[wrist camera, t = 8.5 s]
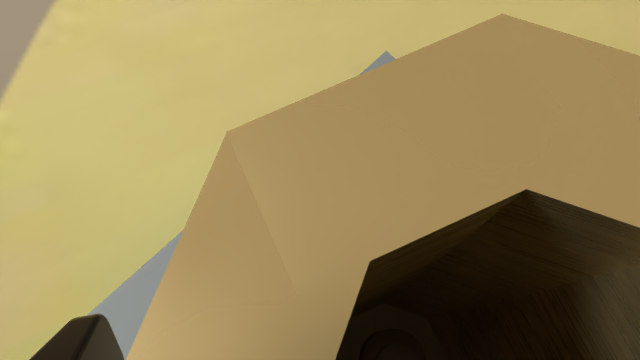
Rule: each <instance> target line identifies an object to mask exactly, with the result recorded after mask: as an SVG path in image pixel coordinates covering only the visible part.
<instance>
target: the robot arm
mask: <svg viewBox="0 0 640 360" xmlns="http://www.w3.org/2000/svg"><path fill="white" fill-rule="evenodd" d="M29 360H124V356H123V353H122V351H121V349H120V346H119V344H118V342H117V340H116V337H115V335H114V333H113V330H112V328H111V326H110V324H109V321H108V320H107V318H106V317H105V316H104V315H102V314H99V313H97V314H92V315H87V316H82V317H77V318H74V319H72V320H70V321H69V322H68V323H67V324H66V325H65V326H64V327H63V328H62V329H61V330H60V331H59V332H58V333H57V334H56V335H55V336H53V337H52V338H51V339H50V340H49V341H48V342H47V343H46V344H45V345H44V346H43V347H42V348H41V349H40V350H39V351H38V352H37V353H36V354H35V355H34V356H33V357H32V358H31V359H29Z"/></svg>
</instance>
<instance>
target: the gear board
mask: <svg viewBox="0 0 640 360" xmlns="http://www.w3.org/2000/svg"><path fill="white" fill-rule="evenodd" d="M394 60H396V59H395V58H394V57H393V56H391V55H390V54H389V53H388V52H387V51H386V52H385V53H384V54H382V55H381V56H380V57H379V58H378V59H377V60H376V61H374V62H373V63H372V64H371V65H370V66H369V67H368V68H367V69H365V70H364V71H363V72H362V73H361V74H363V73H366V72H368V71H370V70H373V69H375V68H377V67H380V66H382V65H384V64H387V63H389V62H391V61H394ZM361 74H360V75H361ZM182 232H183V231H182ZM182 232H181V233H180V234H178V235H177V236H176V237H175V238H174V239H173V240H172V241H171V242H169V243H168V244H167V245H166V246H165V247H164V248H163V249H161V250H160V251H159V252H158V253H157V254H156V255H155V256H154V257H152V258H151V259H150V260H149V261H148V262H147V263H146V264H144V265H143V266H142V267H141V268H140V269H139V270H138V271H137V272H135V273H134V274H133V275H132V276H131V277H130V278H129V279H127V280H126V281H125V282H124V283H123V284H122V285H121V286H120V287H118V288H117V289H116V290H115V291H114V292H113V293H112V294H110V295H109V296H108V297H107V298H106V299H105V300H104V301H103V302H101V303H100V304H99V305H98V306H97V307H96V308H95V309H93V310H92V311H91V312H90V313H89V314H88V315H92V314H97V313H99V314H102V315H104V316H105V317H106V318H107V320H108V321H109V324H110V326H111V328H112V330H113V333H114V335H115V337H116V340H117V342H118V344H119V346H120V349H121V351H122V353H123V356H124V360H126V358H127V356H128V354H129V351H130V349H131V347H132V345H133V342H134V340H135V338H136V336H137V333H138V331H139V329H140V327H141V324H142V322H143V320H144V318H145V315H146V313H147V311H148V309H149V307H150V304H151V302H152V300H153V298H154V295H155V293H156V291H157V289H158V286H159V284H160V282H161V280H162V277H163V275H164V273H165V271H166V268H167V266H168V264H169V262H170V259H171V257H172V255H173V253H174V250H175V248H176V246H177V244H178V241H179V239H180V237H181V235H182ZM335 360H447V358H446V356H445V354H444V352H443V350H442V348H441V346H440V344H439V342H438V340H437V338H436V336H435V334H434V332H433V330H432V328H431V326H430V324H429V322H428V320H427V319H425V318H422V317H419V316H417V315H414V314H411V313H409V312H406V311H403V310H401V309H398V308H396V307H393V306H390V305H388V304H385V303H384V304H382V305H379V306H377V307H375V308H373V309H371V310H369V311H367V312H365V313H362V314H360V315H358V316H356V317H354V318H352V319H350V320H349V322H348V324H347V327H346V330H345V333H344V336H343V339H342V342H341V344H340V347H339V350H338V353H337V356H336V359H335Z"/></svg>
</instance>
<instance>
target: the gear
mask: <svg viewBox="0 0 640 360" xmlns="http://www.w3.org/2000/svg"><path fill="white" fill-rule="evenodd" d="M384 303H385V304H388V305H390V306H393V307H396V308H398V309H401V310H403V311H406V312H409V313H411V314H414V315H417V316H419V317H422V318H425V319H427V320H428V322H429V324H430V326H431V328H432V330H433V332H434V334H435V336H436V338H437V340H438V342H439V344H440V346H441V348H442V350H443V352H444V354H445V356H446V358H447V360H640V56H638V55H635V54H632V53H628V52H625V51H622V50H619V49H615V48H612V47H609V46H606V45H602V44H599V43H596V42H592V41H589V40H586V39H583V38H579V37H576V36H573V35H570V34H566V33H563V32H560V31H556V30H553V29H550V28H547V27H543V26H540V25H537V24H534V23H530V22H527V21H524V20H520V19H517V18H514V17H511V16H507V15H504V14H501V15H499V16H497V17H494V18H492V19H490V20H487V21H485V22H482V23H480V24H478V25H475V26H473V27H471V28H468V29H466V30H464V31H461V32H459V33H457V34H454V35H452V36H450V37H447V38H445V39H443V40H440V41H438V42H436V43H433V44H431V45H429V46H426V47H424V48H422V49H419V50H417V51H415V52H412V53H410V54H408V55H405V56H403V57H401V58H398V59H396V60H394V61H391V62H389V63H387V64H384V65H382V66H380V67H377V68H375V69H373V70H370V71H368V72H366V73H363V74H361V75H358V76H356V77H354V78H351V79H349V80H347V81H344V82H342V83H340V84H337V85H335V86H333V87H330V88H328V89H326V90H323V91H321V92H319V93H316V94H314V95H312V96H309V97H307V98H305V99H302V100H300V101H298V102H295V103H293V104H291V105H288V106H286V107H284V108H281V109H279V110H277V111H274V112H272V113H270V114H267V115H265V116H263V117H260V118H258V119H256V120H253V121H251V122H249V123H246V124H244V125H242V126H239V127H237V128H235V129H232V130H230V131H227V133H226V136H225V138H224V140H223V142H222V145H221V147H220V149H219V151H218V154H217V156H216V158H215V160H214V163H213V165H212V167H211V169H210V172H209V174H208V176H207V178H206V181H205V183H204V185H203V187H202V190H201V192H200V194H199V196H198V199H197V201H196V203H195V205H194V208H193V210H192V212H191V214H190V217H189V219H188V221H187V223H186V226H185V228H184V230H183V232H182V235H181V237H180V239H179V241H178V244H177V246H176V248H175V250H174V253H173V255H172V257H171V259H170V262H169V264H168V266H167V268H166V271H165V273H164V275H163V277H162V280H161V282H160V284H159V286H158V289H157V291H156V293H155V295H154V298H153V300H152V302H151V304H150V307H149V309H148V311H147V313H146V315H145V318H144V320H143V322H142V324H141V327H140V329H139V331H138V333H137V336H136V338H135V340H134V342H133V345H132V347H131V349H130V351H129V354H128V356H127V358H126V360H335V359H336V356H337V353H338V350H339V347H340V344H341V342H342V339H343V336H344V333H345V330H346V327H347V324H348V322H349V320H350V319H352V318H354V317H356V316H358V315H360V314H362V313H365V312H367V311H369V310H371V309H373V308H375V307H377V306H379V305H382V304H384Z"/></svg>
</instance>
